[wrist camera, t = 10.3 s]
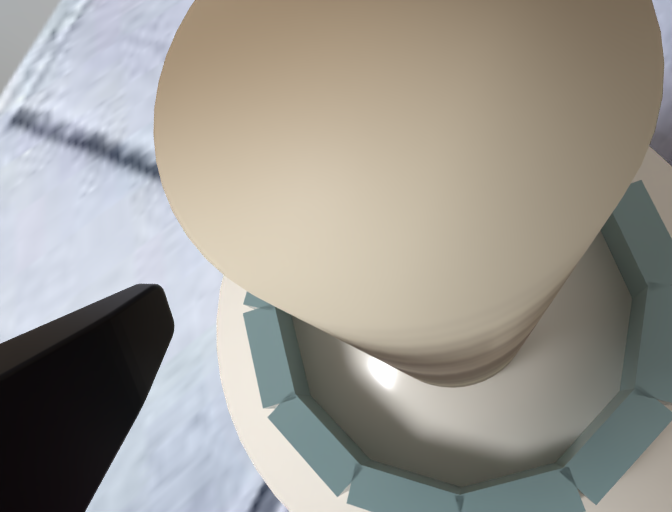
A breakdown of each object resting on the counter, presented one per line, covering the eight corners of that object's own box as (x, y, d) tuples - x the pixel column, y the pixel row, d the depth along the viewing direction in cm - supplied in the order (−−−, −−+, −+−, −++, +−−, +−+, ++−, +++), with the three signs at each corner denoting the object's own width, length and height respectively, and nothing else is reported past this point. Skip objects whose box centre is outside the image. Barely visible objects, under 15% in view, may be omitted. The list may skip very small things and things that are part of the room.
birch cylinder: (553, 361, 15) (779, 214, 4) (397, 406, 16) (196, 395, 4) (496, 216, 16) (535, -201, 5) (356, 263, 17) (125, -17, 6)
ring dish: (846, 508, 13) (923, 529, 11) (284, 637, 16) (250, 676, 13) (593, 35, 18) (610, -20, 16) (195, 187, 21) (159, 158, 18)
